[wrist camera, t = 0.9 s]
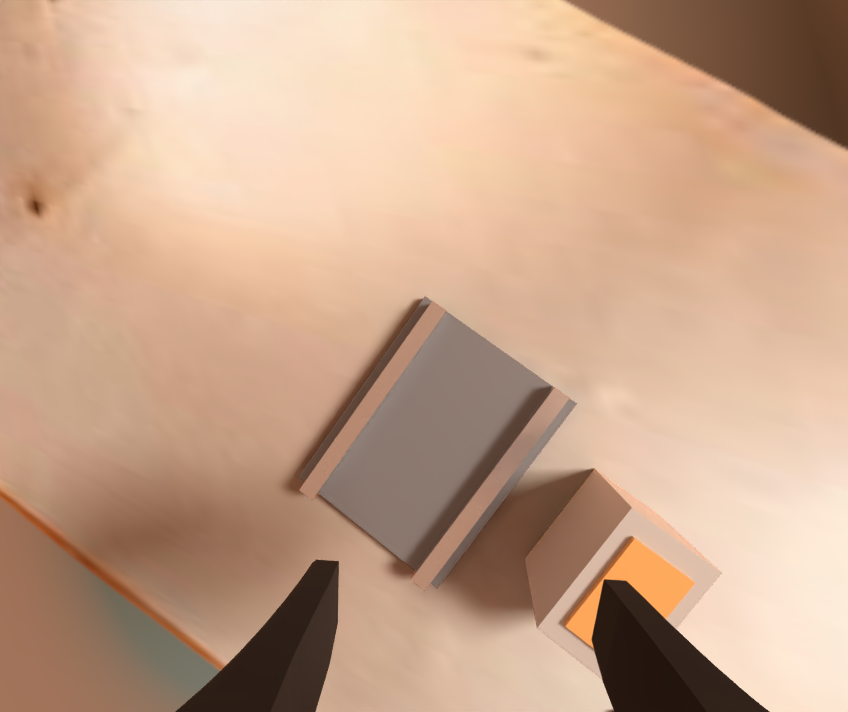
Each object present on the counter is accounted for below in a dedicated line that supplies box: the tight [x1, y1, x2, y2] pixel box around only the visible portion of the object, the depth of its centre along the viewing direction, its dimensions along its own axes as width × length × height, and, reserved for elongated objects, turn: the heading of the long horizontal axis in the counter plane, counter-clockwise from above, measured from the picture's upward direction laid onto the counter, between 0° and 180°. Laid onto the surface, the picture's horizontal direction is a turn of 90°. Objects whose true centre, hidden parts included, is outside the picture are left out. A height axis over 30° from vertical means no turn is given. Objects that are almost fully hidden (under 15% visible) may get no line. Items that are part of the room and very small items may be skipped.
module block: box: [525, 469, 722, 679], centre depth 23 cm, size 4×7×7 cm, turn 144°
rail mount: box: [298, 297, 577, 591], centre depth 27 cm, size 11×14×2 cm
